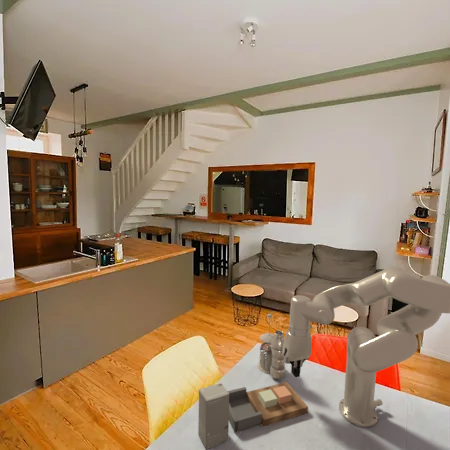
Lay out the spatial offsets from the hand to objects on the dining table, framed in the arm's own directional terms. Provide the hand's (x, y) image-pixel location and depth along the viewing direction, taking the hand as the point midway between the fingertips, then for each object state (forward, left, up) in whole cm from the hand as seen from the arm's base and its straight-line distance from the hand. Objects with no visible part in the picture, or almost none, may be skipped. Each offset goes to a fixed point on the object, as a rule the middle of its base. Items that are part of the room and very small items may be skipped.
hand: (295, 374), depth 107 cm
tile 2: (+6, 0, -8) cm, 10 cm away
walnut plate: (+8, 0, -10) cm, 13 cm away
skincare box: (+34, +5, -10) cm, 36 cm away
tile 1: (+12, 0, -8) cm, 14 cm away
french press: (0, -21, -10) cm, 23 cm away
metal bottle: (-1, -14, -10) cm, 17 cm away
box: (+22, -1, -10) cm, 25 cm away
